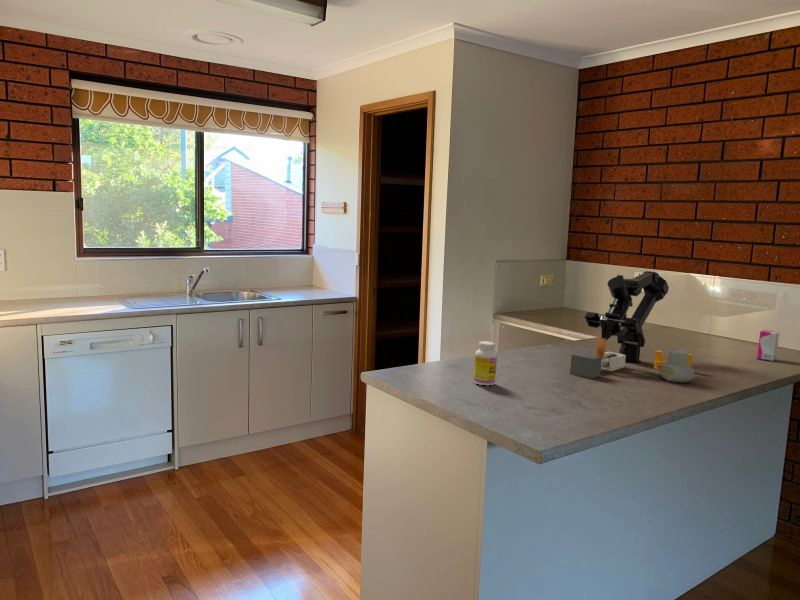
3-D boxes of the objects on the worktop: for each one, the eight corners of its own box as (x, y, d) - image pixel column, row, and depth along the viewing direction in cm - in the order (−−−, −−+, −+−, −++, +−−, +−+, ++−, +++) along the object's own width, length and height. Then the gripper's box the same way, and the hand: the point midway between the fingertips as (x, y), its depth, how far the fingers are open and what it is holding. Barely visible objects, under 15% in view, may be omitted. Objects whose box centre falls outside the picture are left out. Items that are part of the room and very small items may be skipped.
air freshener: (654, 377, 213) (657, 348, 212) (672, 375, 216) (675, 347, 215) (679, 385, 203) (683, 355, 202) (698, 384, 206) (701, 354, 205)
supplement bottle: (489, 388, 189) (492, 346, 187) (469, 384, 193) (472, 342, 191) (498, 383, 195) (501, 342, 193) (478, 379, 198) (481, 339, 196)
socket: (578, 371, 216) (579, 352, 215) (600, 376, 210) (601, 356, 210) (569, 373, 212) (571, 354, 211) (592, 378, 206) (593, 359, 205)
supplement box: (776, 360, 252) (780, 331, 250) (772, 362, 247) (776, 333, 246) (760, 357, 256) (763, 329, 254) (756, 359, 251) (759, 331, 250)
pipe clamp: (654, 370, 224) (656, 352, 223) (653, 367, 228) (655, 350, 227) (691, 374, 221) (693, 356, 220) (689, 371, 225) (691, 353, 224)
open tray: (607, 363, 231) (608, 351, 230) (624, 366, 226) (625, 354, 226) (594, 367, 223) (595, 355, 222) (611, 371, 219) (613, 358, 218)
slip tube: (607, 362, 227) (610, 334, 226) (617, 364, 225) (619, 335, 223) (586, 368, 216) (589, 338, 214) (596, 370, 213) (599, 340, 212)
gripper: (650, 325, 223) (634, 360, 217) (600, 318, 236) (584, 350, 229) (643, 305, 216) (626, 340, 210) (593, 298, 229) (575, 331, 222)
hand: (602, 341), depth 218 cm, fingers closed, pressing on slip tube
